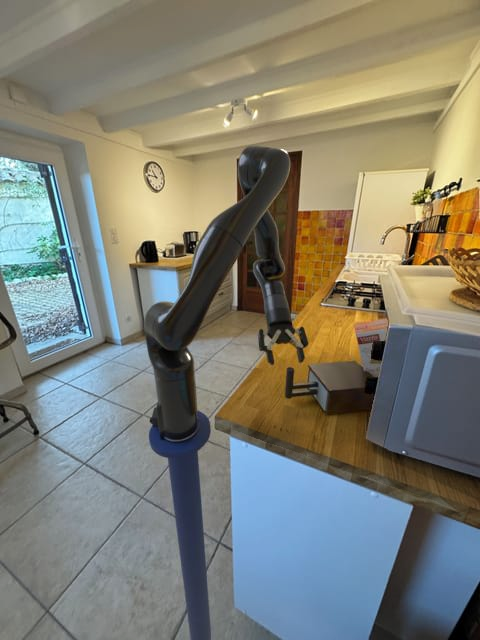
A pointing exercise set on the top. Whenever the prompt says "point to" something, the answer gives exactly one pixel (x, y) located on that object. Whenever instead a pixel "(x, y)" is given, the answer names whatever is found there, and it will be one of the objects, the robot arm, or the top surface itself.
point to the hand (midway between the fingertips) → (287, 363)
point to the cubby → (343, 386)
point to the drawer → (313, 386)
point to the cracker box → (370, 342)
